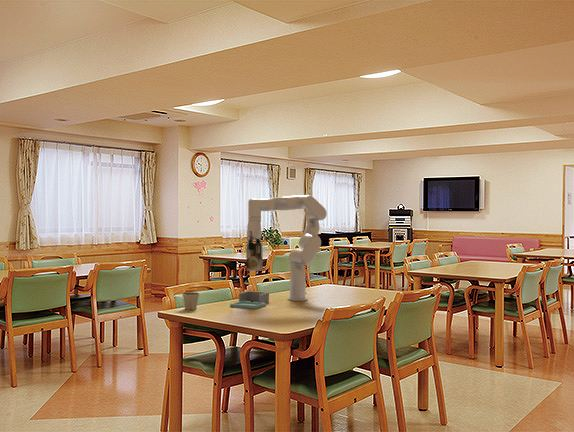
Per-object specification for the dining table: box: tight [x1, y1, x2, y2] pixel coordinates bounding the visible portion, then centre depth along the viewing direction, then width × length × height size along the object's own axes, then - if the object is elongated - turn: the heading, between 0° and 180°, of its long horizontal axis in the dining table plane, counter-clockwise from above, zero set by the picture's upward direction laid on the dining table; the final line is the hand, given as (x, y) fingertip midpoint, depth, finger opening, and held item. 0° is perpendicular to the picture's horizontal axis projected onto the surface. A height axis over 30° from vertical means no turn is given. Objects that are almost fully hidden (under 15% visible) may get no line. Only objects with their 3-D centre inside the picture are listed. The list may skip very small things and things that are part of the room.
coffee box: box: [245, 242, 264, 272], centre depth 331 cm, size 9×6×16 cm
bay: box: [238, 290, 270, 304], centre depth 331 cm, size 12×14×6 cm
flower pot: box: [182, 291, 200, 311], centre depth 306 cm, size 9×9×9 cm
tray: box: [229, 300, 267, 310], centre depth 318 cm, size 13×16×2 cm
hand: (254, 249), depth 331 cm, fingers closed on coffee box, 7 cm apart
